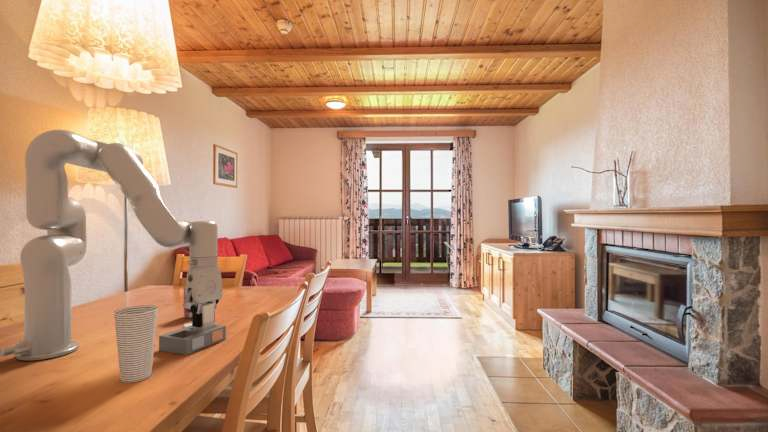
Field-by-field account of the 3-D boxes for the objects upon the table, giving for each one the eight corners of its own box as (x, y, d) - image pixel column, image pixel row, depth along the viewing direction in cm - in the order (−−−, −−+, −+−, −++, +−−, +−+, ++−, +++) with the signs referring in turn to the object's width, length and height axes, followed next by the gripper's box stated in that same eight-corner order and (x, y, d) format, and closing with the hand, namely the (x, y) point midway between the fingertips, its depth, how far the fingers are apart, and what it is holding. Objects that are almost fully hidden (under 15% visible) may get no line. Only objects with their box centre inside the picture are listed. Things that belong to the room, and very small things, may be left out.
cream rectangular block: (203, 333, 112) (203, 306, 112) (193, 332, 113) (193, 304, 113) (214, 329, 116) (214, 303, 116) (203, 328, 117) (203, 302, 117)
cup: (109, 388, 83) (109, 315, 83) (118, 373, 91) (118, 307, 91) (154, 381, 86) (155, 312, 86) (160, 367, 94) (160, 304, 94)
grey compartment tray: (187, 355, 103) (187, 340, 103) (158, 350, 106) (159, 335, 106) (226, 339, 116) (226, 325, 116) (200, 335, 119) (200, 322, 119)
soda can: (199, 319, 139) (199, 285, 139) (179, 318, 139) (179, 285, 139) (208, 314, 146) (208, 282, 146) (189, 314, 146) (190, 282, 146)
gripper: (190, 266, 105) (190, 334, 105) (233, 260, 121) (233, 318, 121) (169, 265, 108) (169, 331, 108) (215, 259, 124) (215, 316, 124)
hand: (203, 323), depth 114 cm, fingers closed on cream rectangular block, 4 cm apart
